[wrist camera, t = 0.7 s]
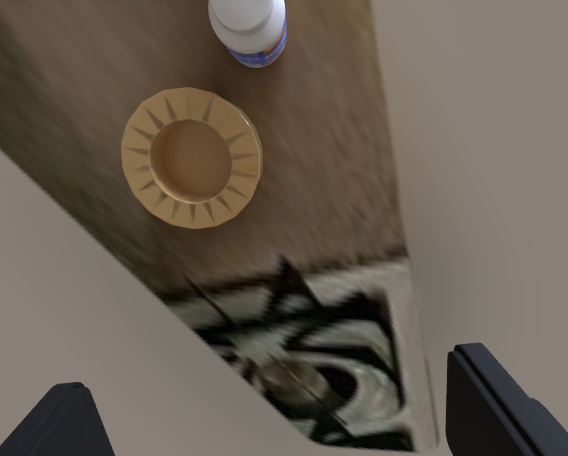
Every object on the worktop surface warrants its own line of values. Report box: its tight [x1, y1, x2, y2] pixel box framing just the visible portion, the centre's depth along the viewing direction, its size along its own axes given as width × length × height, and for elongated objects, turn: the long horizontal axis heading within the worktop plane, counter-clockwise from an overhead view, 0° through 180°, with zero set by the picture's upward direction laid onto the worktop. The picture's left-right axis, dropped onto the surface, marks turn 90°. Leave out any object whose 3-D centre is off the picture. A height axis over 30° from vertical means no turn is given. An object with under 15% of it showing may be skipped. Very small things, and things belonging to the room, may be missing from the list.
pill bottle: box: [208, 0, 286, 68], centre depth 25 cm, size 5×5×10 cm
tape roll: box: [121, 87, 263, 229], centre depth 31 cm, size 12×12×4 cm
